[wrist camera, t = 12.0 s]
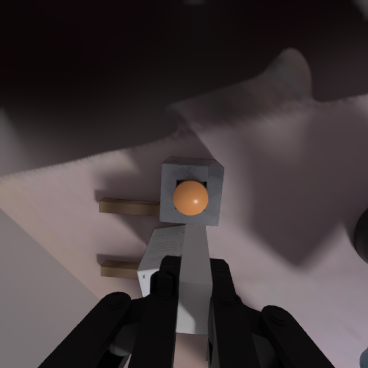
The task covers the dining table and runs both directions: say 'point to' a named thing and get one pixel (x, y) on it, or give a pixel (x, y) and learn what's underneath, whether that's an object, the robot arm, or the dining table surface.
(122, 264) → the track
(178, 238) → the small box
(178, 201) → the orange piece
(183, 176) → the grey block with hole
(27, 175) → the dining table surface
